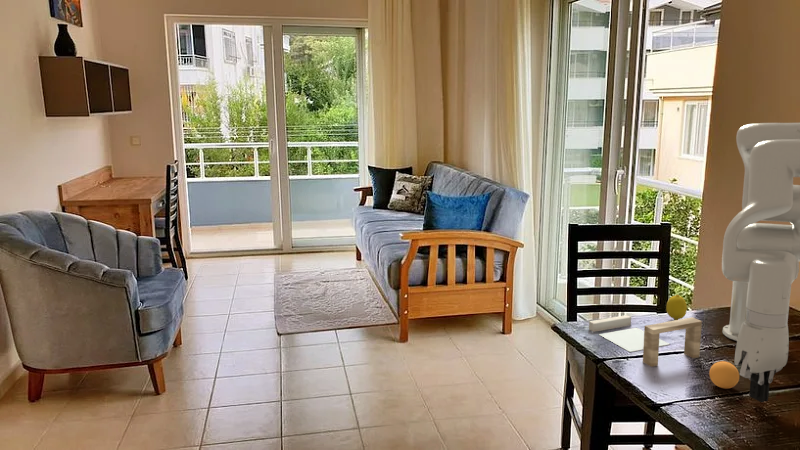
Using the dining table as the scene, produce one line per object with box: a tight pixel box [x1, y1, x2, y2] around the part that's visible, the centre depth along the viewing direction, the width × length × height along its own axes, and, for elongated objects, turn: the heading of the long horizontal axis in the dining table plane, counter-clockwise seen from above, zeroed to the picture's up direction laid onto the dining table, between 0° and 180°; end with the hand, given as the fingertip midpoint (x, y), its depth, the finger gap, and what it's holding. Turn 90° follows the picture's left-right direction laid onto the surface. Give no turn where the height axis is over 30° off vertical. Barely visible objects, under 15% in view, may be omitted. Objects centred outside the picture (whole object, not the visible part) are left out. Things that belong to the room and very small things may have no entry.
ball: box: [708, 360, 740, 389], centre depth 134 cm, size 6×6×6 cm
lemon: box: [665, 294, 688, 321], centre depth 175 cm, size 6×6×8 cm
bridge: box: [642, 316, 703, 368], centre depth 149 cm, size 3×15×10 cm, turn 108°
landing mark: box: [598, 327, 671, 353], centre depth 163 cm, size 13×13×1 cm
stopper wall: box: [588, 314, 632, 333], centre depth 172 cm, size 13×2×2 cm, turn 108°
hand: (758, 398), depth 126 cm, fingers closed
